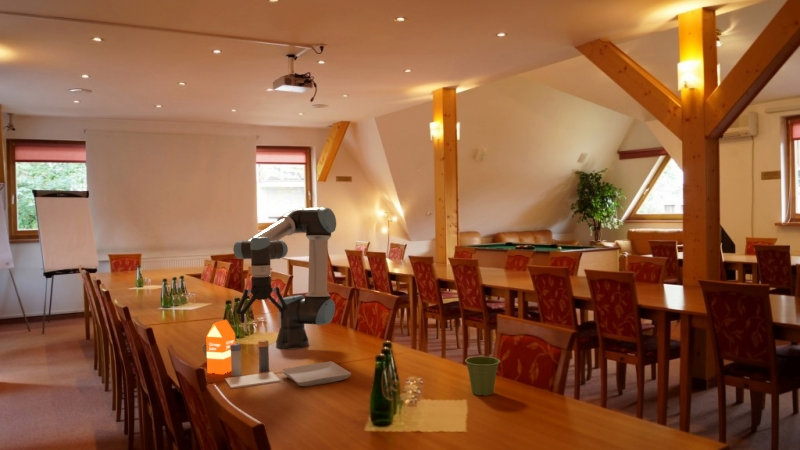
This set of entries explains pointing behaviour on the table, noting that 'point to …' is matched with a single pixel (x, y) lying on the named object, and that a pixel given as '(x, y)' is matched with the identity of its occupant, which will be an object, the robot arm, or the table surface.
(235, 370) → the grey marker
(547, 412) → the table surface
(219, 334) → the orange juice
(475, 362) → the plant pot
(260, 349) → the marker
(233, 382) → the paper
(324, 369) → the salad plate
